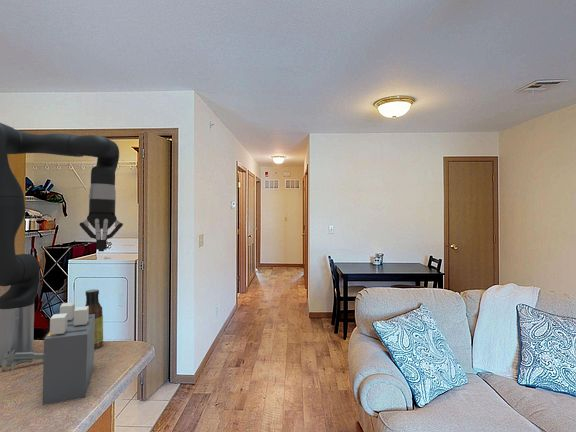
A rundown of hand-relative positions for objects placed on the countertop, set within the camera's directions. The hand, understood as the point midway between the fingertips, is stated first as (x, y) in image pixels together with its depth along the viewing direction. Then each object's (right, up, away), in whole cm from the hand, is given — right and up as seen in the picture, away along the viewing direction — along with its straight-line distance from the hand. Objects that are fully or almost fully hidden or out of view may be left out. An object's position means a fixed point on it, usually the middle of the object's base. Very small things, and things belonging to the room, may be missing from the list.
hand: (101, 251), depth 108 cm
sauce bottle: (-8, -35, +8) cm, 36 cm away
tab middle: (+4, -18, -17) cm, 25 cm away
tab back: (-2, -18, -13) cm, 22 cm away
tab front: (+3, -18, -24) cm, 30 cm away
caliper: (-14, -35, -5) cm, 38 cm away
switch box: (+2, -34, -18) cm, 39 cm away
